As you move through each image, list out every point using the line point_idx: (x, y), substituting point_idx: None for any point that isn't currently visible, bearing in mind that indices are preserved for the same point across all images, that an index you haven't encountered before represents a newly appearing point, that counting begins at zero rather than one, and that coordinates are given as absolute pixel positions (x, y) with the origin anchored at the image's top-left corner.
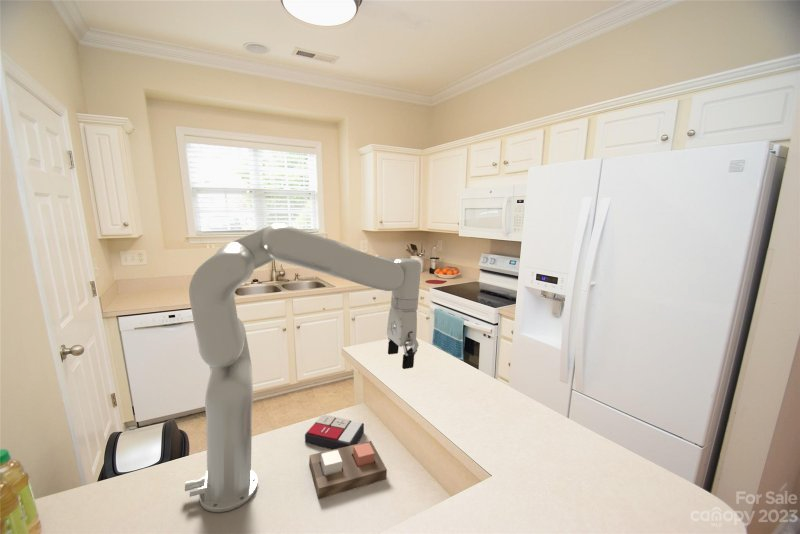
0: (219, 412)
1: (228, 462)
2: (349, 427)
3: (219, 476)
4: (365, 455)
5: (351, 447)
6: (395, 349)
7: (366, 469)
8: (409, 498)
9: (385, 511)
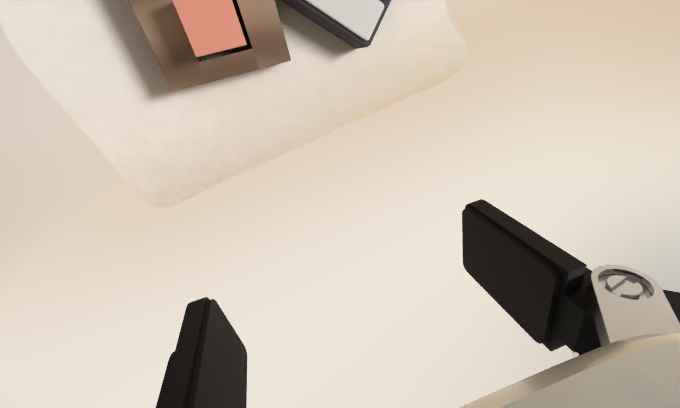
0: None
1: None
2: None
3: None
4: (182, 22)
5: None
6: (486, 271)
7: (165, 27)
8: (123, 136)
9: (66, 70)
